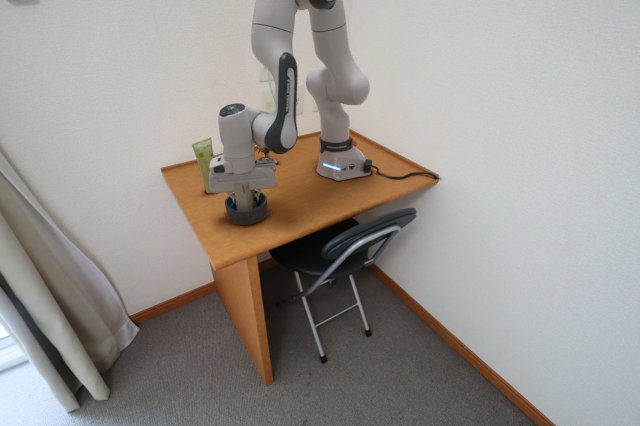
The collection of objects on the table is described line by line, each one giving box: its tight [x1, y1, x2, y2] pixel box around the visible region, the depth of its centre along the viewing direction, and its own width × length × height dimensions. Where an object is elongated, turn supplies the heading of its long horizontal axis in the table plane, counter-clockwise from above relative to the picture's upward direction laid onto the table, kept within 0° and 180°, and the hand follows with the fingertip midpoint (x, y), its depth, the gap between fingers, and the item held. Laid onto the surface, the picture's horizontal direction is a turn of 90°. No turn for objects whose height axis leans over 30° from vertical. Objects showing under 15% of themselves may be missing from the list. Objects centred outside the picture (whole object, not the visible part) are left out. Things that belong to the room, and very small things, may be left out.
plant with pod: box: [256, 144, 279, 164], centre depth 131 cm, size 8×11×20 cm
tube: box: [191, 137, 215, 194], centre depth 111 cm, size 6×5×20 cm
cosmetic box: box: [233, 183, 257, 211], centre depth 100 cm, size 6×4×12 cm
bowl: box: [224, 190, 269, 226], centre depth 102 cm, size 13×13×6 cm
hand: (246, 200), depth 101 cm, fingers closed on cosmetic box, 5 cm apart
